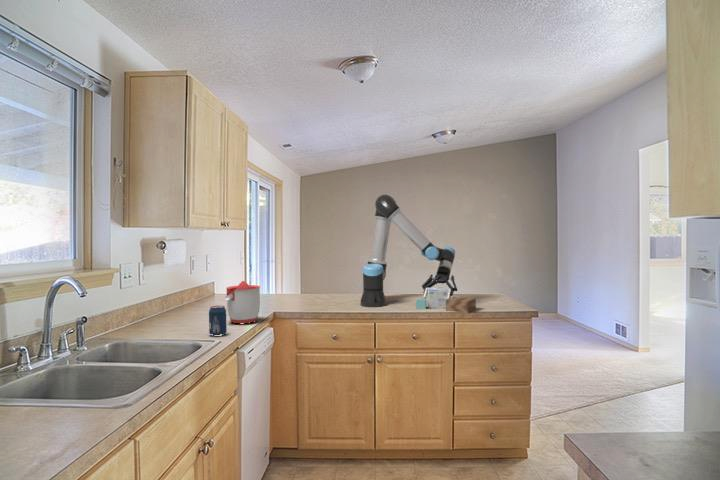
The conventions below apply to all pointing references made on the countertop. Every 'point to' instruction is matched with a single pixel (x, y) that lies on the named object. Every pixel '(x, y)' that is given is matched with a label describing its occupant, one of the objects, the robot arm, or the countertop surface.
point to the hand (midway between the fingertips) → (436, 299)
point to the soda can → (217, 320)
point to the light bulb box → (437, 297)
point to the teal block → (421, 304)
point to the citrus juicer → (243, 302)
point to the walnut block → (460, 304)
